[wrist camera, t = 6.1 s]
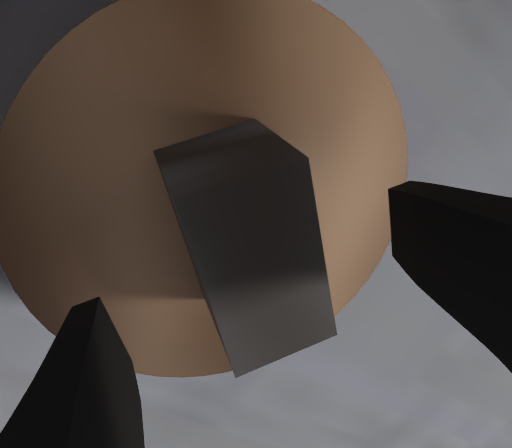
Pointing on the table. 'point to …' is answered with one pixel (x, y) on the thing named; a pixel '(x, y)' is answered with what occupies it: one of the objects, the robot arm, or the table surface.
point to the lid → (201, 178)
